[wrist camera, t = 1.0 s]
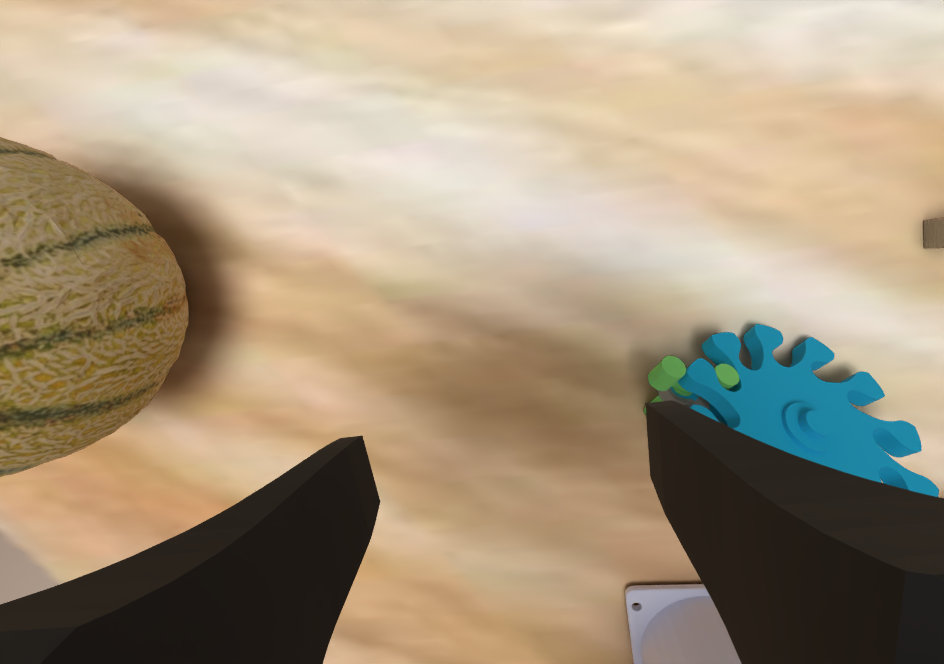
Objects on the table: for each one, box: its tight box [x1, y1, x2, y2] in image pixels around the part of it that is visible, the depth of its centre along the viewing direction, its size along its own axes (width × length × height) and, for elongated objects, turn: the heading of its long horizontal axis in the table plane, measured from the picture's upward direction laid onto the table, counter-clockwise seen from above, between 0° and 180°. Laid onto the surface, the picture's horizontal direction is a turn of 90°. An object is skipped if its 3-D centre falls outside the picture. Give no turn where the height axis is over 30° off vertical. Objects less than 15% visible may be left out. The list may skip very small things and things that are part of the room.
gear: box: [644, 324, 939, 497], centre depth 20 cm, size 11×6×10 cm
